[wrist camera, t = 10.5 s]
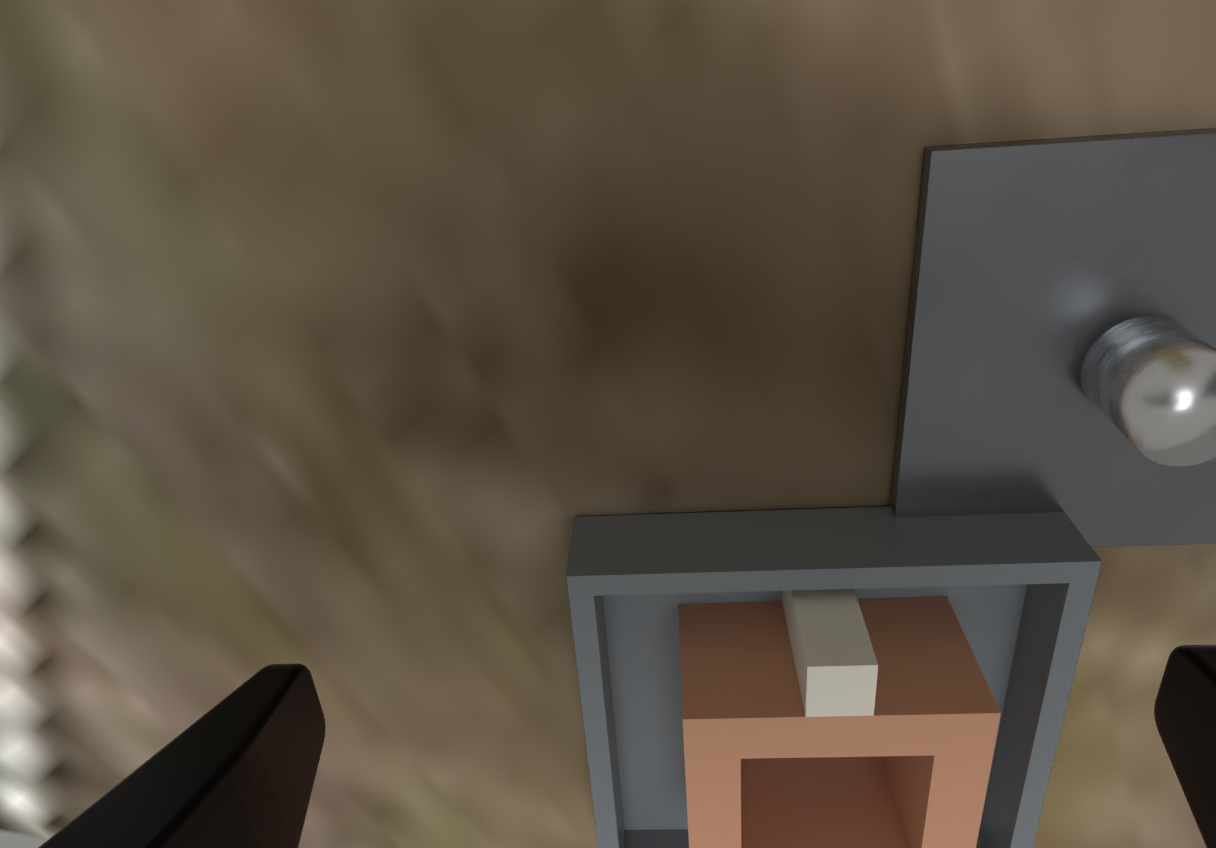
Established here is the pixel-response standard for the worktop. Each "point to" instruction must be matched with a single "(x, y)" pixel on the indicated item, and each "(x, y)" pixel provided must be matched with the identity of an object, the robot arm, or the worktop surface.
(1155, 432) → the grey lid with knob
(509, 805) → the worktop surface
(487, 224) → the worktop surface
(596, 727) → the tray
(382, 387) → the worktop surface
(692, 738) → the brown square frame
